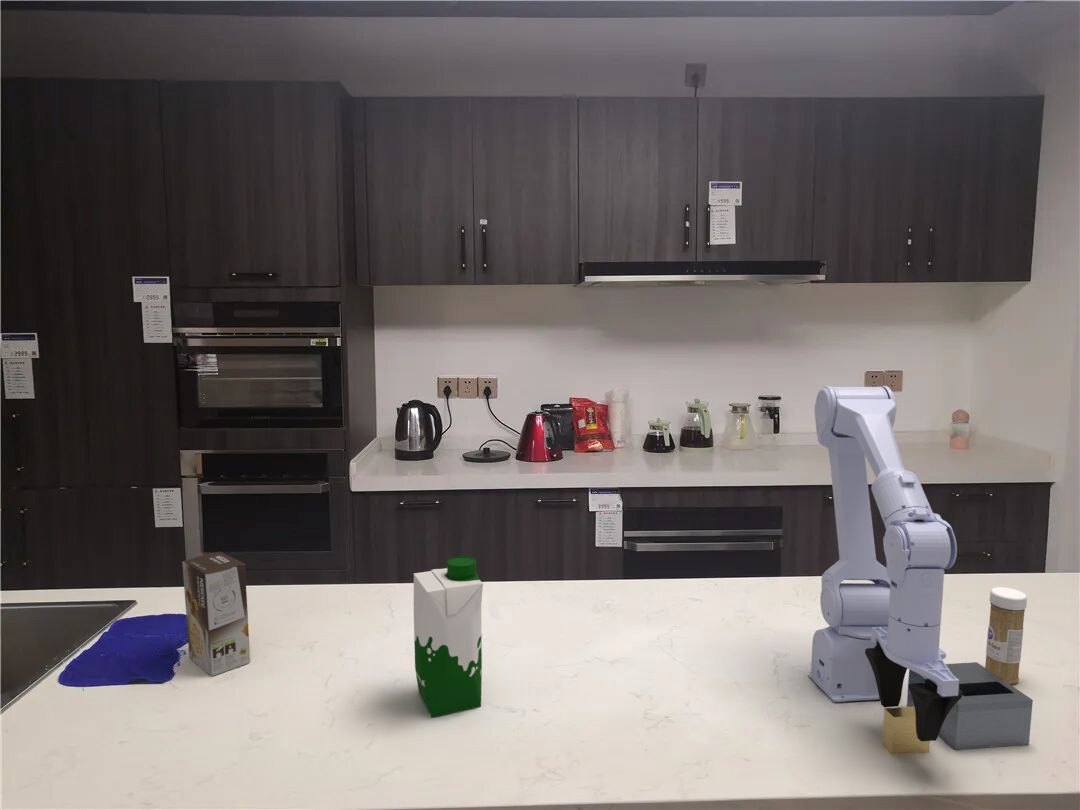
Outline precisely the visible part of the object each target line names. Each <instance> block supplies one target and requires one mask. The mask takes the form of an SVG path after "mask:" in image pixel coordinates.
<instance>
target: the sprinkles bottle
mask: <svg viewBox="0 0 1080 810" xmlns="http://www.w3.org/2000/svg"><path fill="white" fill-rule="evenodd" d="M989 602H990V613H989V622H988V628H987V629H988V631H987V637H986V638H987V639H986V649H985V653H986V654H985V664H984V665H985V666H984V667H985V668H986V669H988V670H989V671H991V672H992V673H994V674H995V675H997V676H998V677H1000V678H1001V679H1002V680H1004V681H1005V682H1007V683H1008V684H1010V685H1013V684H1018V683H1019V680H1020V677H1019V673H1020V665H1021V664H1020V663H1021V658H1022V657H1021V656H1022V647H1023V637H1024V620H1025V619H1024V618H1025V611H1026V608H1027V605H1028V603H1027V602H1028V596H1027V594H1026V593H1024V592H1023V591H1020V590H1018V589H1014V588H1010V587H1003V586H1001V587H1000V586H999V587H998V586H997V587H993V588H991V590H990V595H989Z"/></svg>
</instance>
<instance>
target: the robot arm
mask: <svg viewBox="0 0 1080 810" xmlns="http://www.w3.org/2000/svg"><path fill="white" fill-rule="evenodd" d="M896 400H897V399H896V397H895V394H894V392H893V391H892V389H891V388H890V387H889V386H887V385H880V386H830V385H824V386H822V388H821V389H820V390H818V393H817V395H816V399H815V402H814V403H815V404H814V419H815V431H816V436H817V442H818V444H820V445H822V446H823V447H825V448H827V449H828V457H829V465H830V476H831V485H832V494H833V505H834V507H833V508H834V515H835V527H836V534H837V536H836V537H837V543H838V544H837V546H838V555H839V556H838V557H839V559H838V561H836V562H835V563H834V564H833V565H831V566H830V567H828V569H826V570H825V571H824V573H822V575H821V578H820V579H821V591H820V598H819V599H820V611H821V614H822V617H823V619H824V621H825V622H826V623H827V625H828V626H827V627H824V628H821V629H817V630H816V631H814V634H813V637H812V644H811V645H812V647H811V662H810V663H811V664H810V665H811V667H810V671H808V673H807V674H808V677H810V678H811V679H812V681H813V683H815V684H816V685H818V687H819V688H820V689H821V690H822V691H823V692H824V693H825V694H826V695H827V696H828V697H829V698H830V699H831V701H833V702H835V703H836V702H837V703H841V702H842V703H843V702H853V701H854V702H857V701H873V700H879V702H880V705H881V706H882V707H883V708H898V707H899V706H900V703H901V699H902V694H903V687H904V681H905V677H906V674H907V670H909V669H910V670H912V671H914V672H916V673H918V674H919V675H921V676H922V677H923V678H925V684H924V683H911V684H908V683H907V689H908V688H909V690H910V693H911V695H912V699H913V702H914V707H915V715H916V734H917V738H918V739H919V740H920V741H930V742H932V741H933V742H934V741H937V739H938V737H939V732H940V730H941V727H942V725H943V722H944V720H945V718H946V716H947V715H948V713H949V711H950V710H951V709H952V707H953V706H954V705H955V704H956V703H957V702H958V701H959V700H960V699H961V698H962V691H961V690H960V689H959V679H957V678H956V677H955V676H954V675H953V674H952V673H951V672H950V670H949V669H948V667H947V666H946V664H947V663H945V661H944V659H946V657H947V653H946V651H944V650H943V649H942V648H940V639H941V636H940V635H941V625H942V624H941V622H942V609H943V595H944V581H945V570H947V569H951V568H952V567H953V566H954V564H955V562H956V559H957V553H958V547H957V540H956V539H957V538H956V536H955V533H954V530H953V528H952V526H951V524H949V522H947V521H946V520H944V519H942V517H941V514H938V513H935V512H934V511H933V509H932V508H931V504H930V503H929V501H928V498H927V495H926V493H925V491H924V489H923V486H922V484H921V482H920V480H919V477H918V475H917V474H916V473H914V472H913V471H911V470H907V469H905V467H904V463H903V461H902V457H901V454H900V453H901V452H900V450H899V446H898V443H897V440H896V435H895V434H894V429H893V427H894V424H895V421H896V415H897V401H896ZM866 460H867V463H868V464H869V466H870V468H871V469H872V471H873V474H874V476H875V478H874V480H873V483H871V486H870V487H871V492H872V495H873V497H874V501H875V503H876V505H877V506H876V507H877V508H878V510H879V511H878V512H879V513H880V514H879V515H880V517H881V519H882V522H883V524H884V527H885V533H884V536H883V538H882V541H883V552H884V555H885V560H886V565H885V566H884V565H883V564H882V563H880V562H879V561H878V560H877V555H876V545H875V538H874V537H875V536H874V529H873V528H874V527H873V519H872V510H871V500H870V499H871V498H870V491H869V483H868V475H867V463H866ZM844 581H869V582H872V583H861V582H860V583H859V582H858V583H857V582H856V583H854V582H853V583H850V582H849V583H848V582H847V583H845V582H844Z"/></svg>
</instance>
